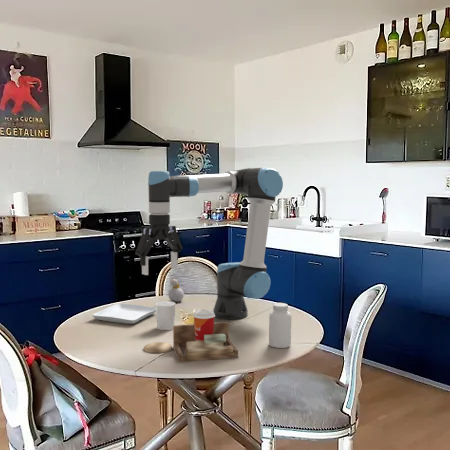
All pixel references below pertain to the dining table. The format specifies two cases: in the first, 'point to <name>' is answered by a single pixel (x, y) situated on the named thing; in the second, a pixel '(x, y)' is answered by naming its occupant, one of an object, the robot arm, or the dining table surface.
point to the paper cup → (203, 323)
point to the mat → (157, 347)
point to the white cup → (165, 315)
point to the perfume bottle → (175, 291)
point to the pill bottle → (280, 326)
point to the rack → (203, 343)
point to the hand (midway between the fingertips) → (160, 271)
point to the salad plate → (124, 313)
